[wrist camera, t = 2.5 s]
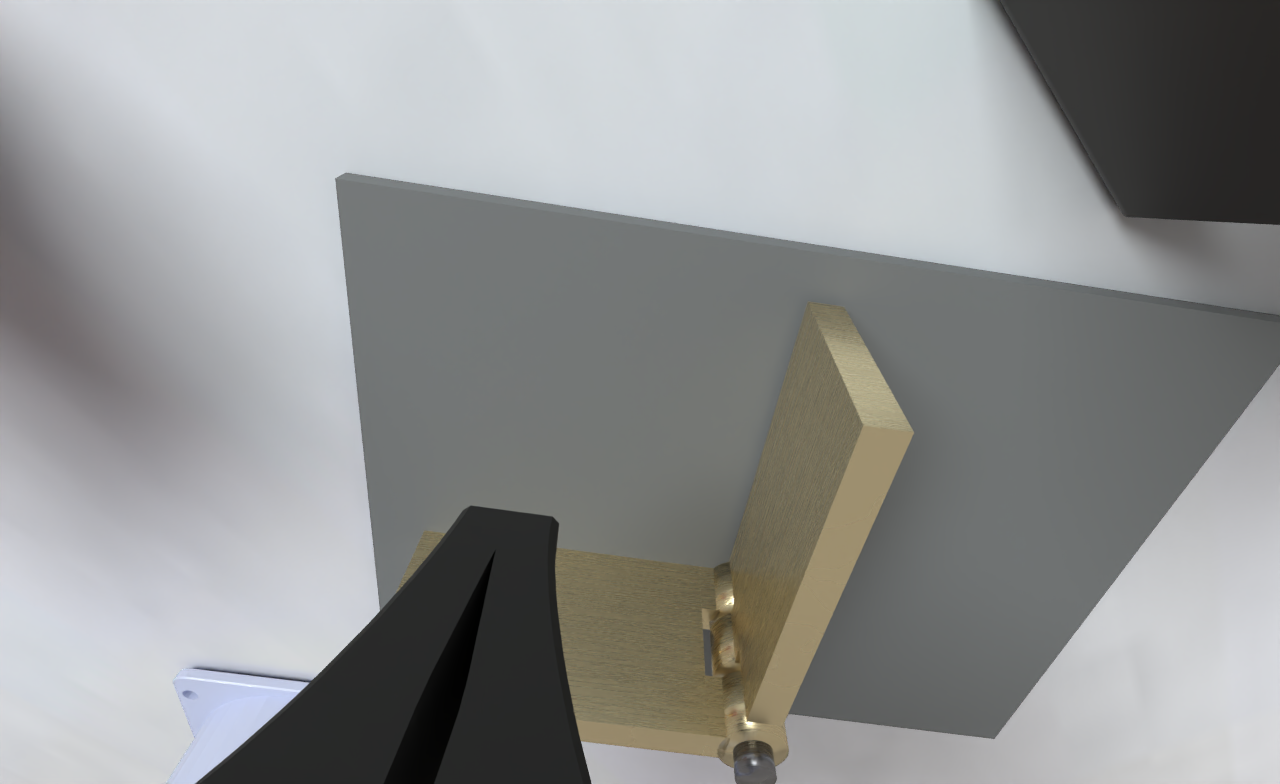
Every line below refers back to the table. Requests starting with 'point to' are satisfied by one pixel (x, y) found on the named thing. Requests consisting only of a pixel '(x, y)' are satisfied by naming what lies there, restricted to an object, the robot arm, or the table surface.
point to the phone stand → (1168, 99)
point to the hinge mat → (744, 407)
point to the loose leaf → (807, 510)
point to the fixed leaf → (651, 659)
